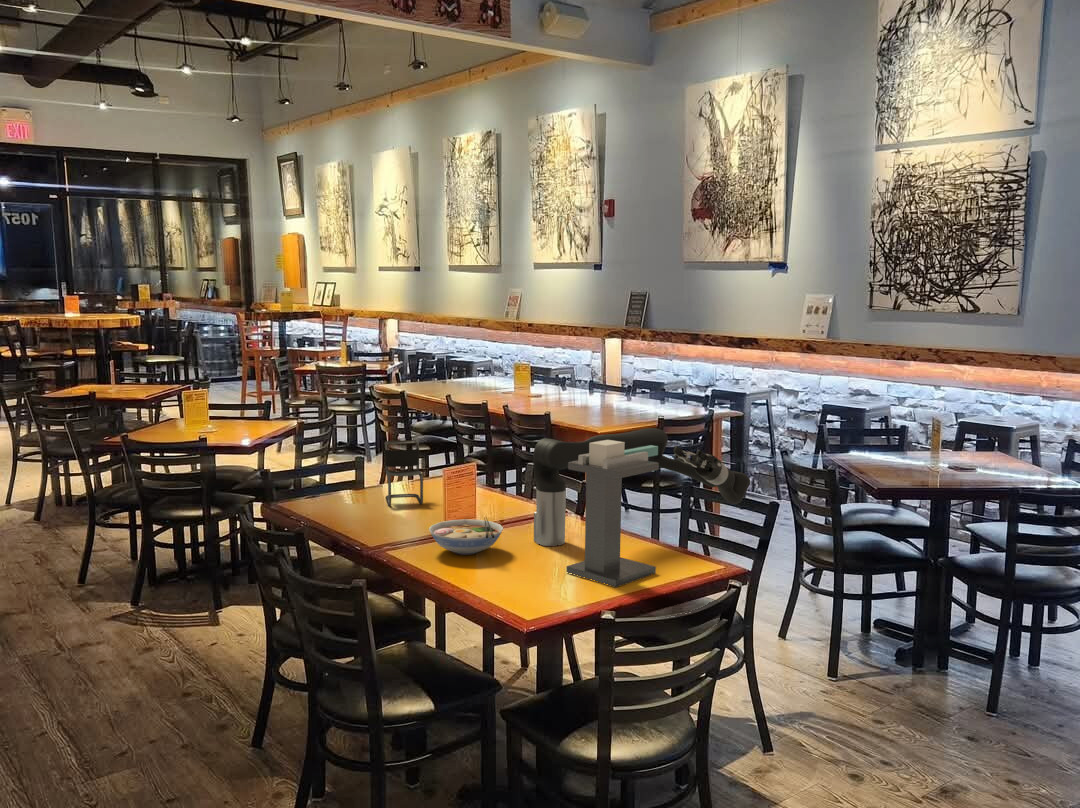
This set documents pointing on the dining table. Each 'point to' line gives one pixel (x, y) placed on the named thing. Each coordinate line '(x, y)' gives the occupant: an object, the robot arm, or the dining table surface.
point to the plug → (614, 451)
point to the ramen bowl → (466, 535)
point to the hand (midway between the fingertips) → (686, 450)
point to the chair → (402, 461)
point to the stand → (608, 519)
